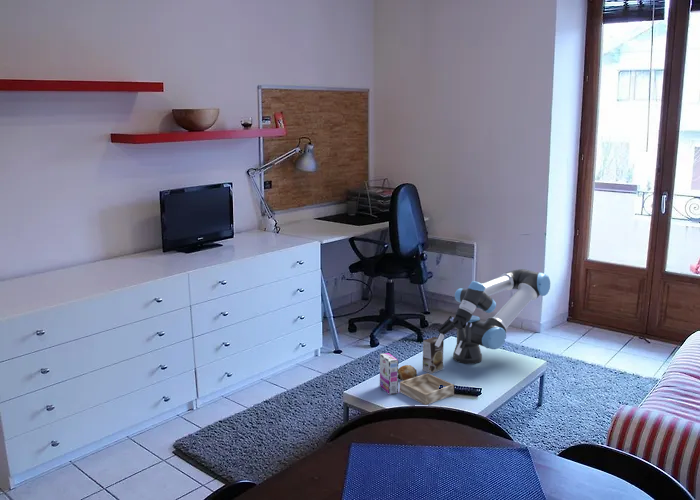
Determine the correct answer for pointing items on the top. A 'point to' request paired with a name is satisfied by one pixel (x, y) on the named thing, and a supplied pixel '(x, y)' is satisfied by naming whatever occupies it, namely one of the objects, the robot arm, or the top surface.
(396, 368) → the candy bar box
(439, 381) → the wooden tray
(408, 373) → the bread roll
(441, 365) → the coffee box
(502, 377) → the top surface
